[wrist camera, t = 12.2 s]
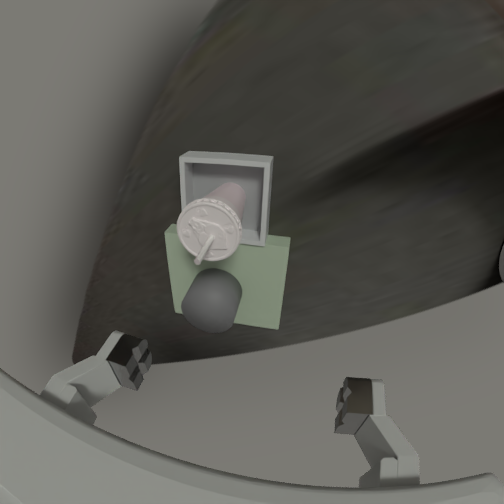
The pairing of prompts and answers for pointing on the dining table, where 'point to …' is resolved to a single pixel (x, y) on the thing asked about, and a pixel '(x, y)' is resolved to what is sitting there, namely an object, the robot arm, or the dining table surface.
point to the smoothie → (213, 223)
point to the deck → (241, 261)
